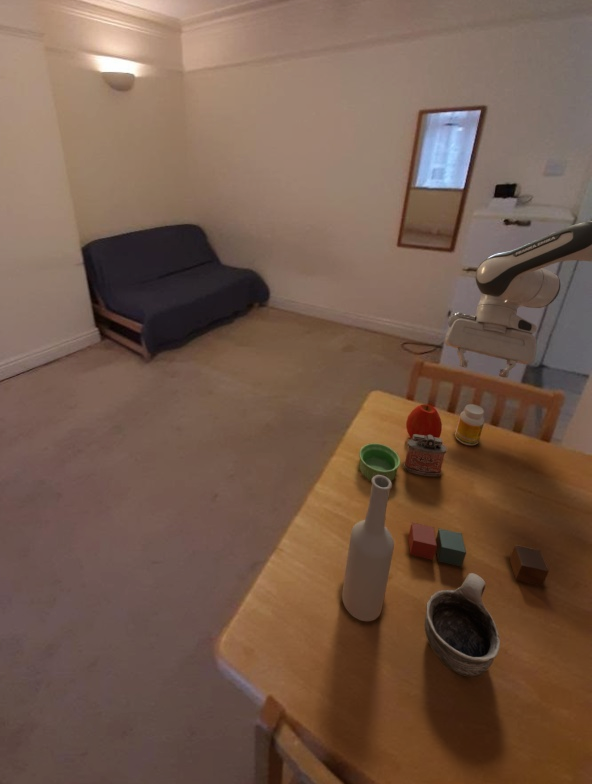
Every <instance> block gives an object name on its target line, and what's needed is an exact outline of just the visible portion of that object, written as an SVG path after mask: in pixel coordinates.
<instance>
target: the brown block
mask: <svg viewBox="0 0 592 784" xmlns="http://www.w3.org/2000/svg"><path fill="white" fill-rule="evenodd" d="M508 560H509V561H510V562H509V563H510V565H511V570H512V572H513V575H514V578H515V580H516V581H520V582H524V583H527V584H532V585H535V586H540V587H543V585H544V583H545V581H546V579H547V577H548V574H549V572H550V571H549V568H548V566H547V564H546V561H545V558H544V555H543V554H542V551H541V550H540V549H535V548H531V547H527V546H523V545H518V544H514V546H513V549H512V551H511V554H510V556H509V558H508Z"/></svg>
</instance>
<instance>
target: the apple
mask: <svg viewBox="0 0 592 784" xmlns="http://www.w3.org/2000/svg"><path fill="white" fill-rule="evenodd" d="M405 426H406V427H405V428H406V432H407V434H408V436H409V437H410V440H411V439H412V437H413V435H414V434H417V435H424V436H427V435H432V436H433V437H436V438H440V437H441V435H442V431H443V424H442V419H441V416H440V414H439V412H438V410H437V408H435V407H434V406H433V405H431V404H428V403H427V404H426V403H425V404H419V405H417V406H416V407H414V408H413V409H412V410H411V412H410V413H409V414H408V416H407V419H406V424H405Z"/></svg>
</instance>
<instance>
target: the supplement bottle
mask: <svg viewBox="0 0 592 784" xmlns="http://www.w3.org/2000/svg"><path fill="white" fill-rule="evenodd" d="M484 414H485V410H484V408H482V407H481V406H479V405H477V404H475V403H474V404H473V403H470V404H466V405H465V407H464V409H463V411H462V412H460V414H459V417H458V421H457V426H456V429H455V433H454V436H455V439H456V440H457V441H458V442H460V443H461V444H463V445H466V446H476V445H478V444H479V441H480V438H481V435H482V431H483V428H484V424H485V418H484Z"/></svg>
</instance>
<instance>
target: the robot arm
mask: <svg viewBox="0 0 592 784" xmlns="http://www.w3.org/2000/svg"><path fill="white" fill-rule="evenodd" d="M568 261H569V262H570V261H580V262H581V261H582V262H592V220H587V221H583V222H580V223H575V224H571V225H569V226H567V227H566V226H565V227H564V228H561V229H559V230H556V231H554V232H552V233H549V234H547V235H544V236H541V237H540V238H537V239H535V240H532V241H530V242H528V243H526V244H524V245H522V246H519V247H517V248H514V249H512V250H509V251H503V252H498V253H495V254H493V255H490V256H489V257H487V258H486V259H484V260H483V261H482V262H481V263H480V264H479V265H478V267H477V268H476V271H475V283H476V286H477V288H478V290H479V292H480V299H479V302H478V303H477V307H476V311H475V314H474V315H471V314H466V313H462V312H457V313H453V314H451V315H450V316H449V319H448V326H449V328H448V329H447V332H446V335H445V338H444V344H445V346H447V347H450V348H455V349H457V356H458V358H459V364H458V365H459V367H462V368H467V367H468V365H469V360H468V359H466V358H465V355H464V354H466V353H467V351H468V352H470V353H471V352H472V353H476V354H479V355H484V356H488V357H491V358H492V357H493V358H497V359H501V360H505V361H506V365H507V366H506V367H505V368H501V369H499V374H498V376H499V377H500V378H501V377H502V378H505V379H507V378H509V374H510V371H512V369H514V368H515V367H517V364H522V365H530V364H532V363H533V362H534V361H535V360H536V354H537V338H536V336H535V335H534V334H535V333H536V332H537V325H536V324H534V323H532V322H530V321H528V320H526V319H525V318H522V317H521V316H519V315H517V313H518V309H519V308H520V307H525V308H531V309H541V308H545V307H547V306H549V305H550V304H552V303H553V302H554V301H555V300H556V299H557V297H558V295H559V293H560V291H561V280H560V277H559V275H558V274H556V273H555V272H553V271H551V270H549V269H546V267H550V266H551V265H555V264H558V263H562V262H568Z"/></svg>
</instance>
